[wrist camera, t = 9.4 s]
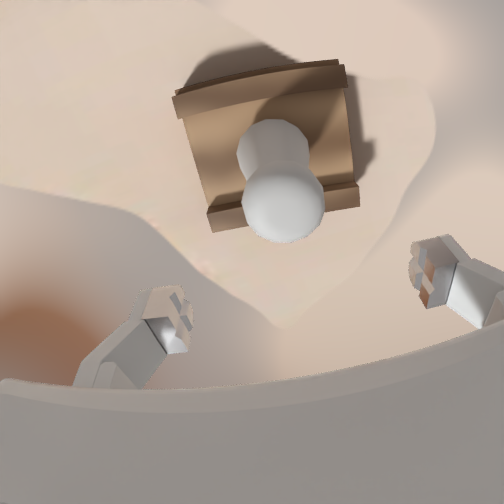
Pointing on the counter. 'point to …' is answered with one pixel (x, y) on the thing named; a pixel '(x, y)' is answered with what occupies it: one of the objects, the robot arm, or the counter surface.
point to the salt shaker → (279, 182)
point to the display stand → (258, 109)
